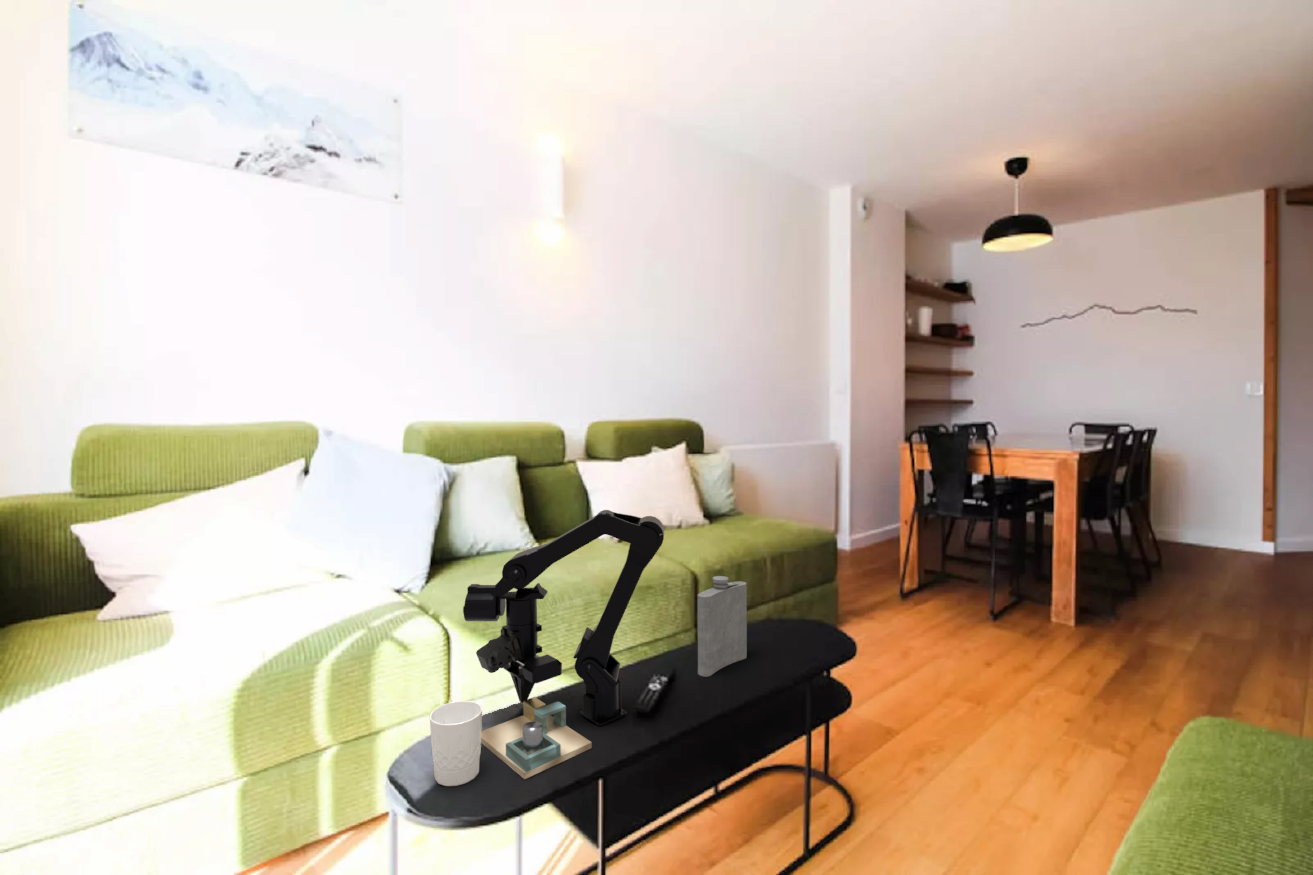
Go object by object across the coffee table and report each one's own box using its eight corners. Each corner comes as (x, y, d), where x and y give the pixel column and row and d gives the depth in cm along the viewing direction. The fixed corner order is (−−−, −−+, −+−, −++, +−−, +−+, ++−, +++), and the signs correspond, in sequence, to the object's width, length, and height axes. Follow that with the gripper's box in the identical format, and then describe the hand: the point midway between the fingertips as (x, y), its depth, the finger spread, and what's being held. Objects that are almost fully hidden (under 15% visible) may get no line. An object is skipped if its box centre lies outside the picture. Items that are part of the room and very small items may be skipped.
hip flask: (706, 678, 130) (705, 586, 129) (691, 672, 133) (691, 582, 132) (749, 656, 141) (749, 572, 141) (735, 652, 144) (735, 569, 144)
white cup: (488, 759, 100) (487, 699, 99) (475, 788, 92) (474, 724, 91) (440, 760, 99) (439, 700, 99) (423, 790, 91) (422, 725, 91)
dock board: (540, 713, 115) (539, 690, 115) (591, 748, 103) (591, 721, 103) (476, 738, 106) (475, 713, 106) (524, 779, 94) (524, 750, 94)
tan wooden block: (534, 711, 114) (534, 696, 114) (546, 718, 111) (545, 704, 111) (523, 715, 112) (523, 701, 112) (534, 723, 109) (534, 708, 109)
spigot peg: (536, 748, 101) (535, 719, 101) (546, 756, 98) (546, 726, 98) (519, 756, 99) (518, 726, 98) (529, 764, 96) (529, 733, 96)
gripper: (459, 618, 115) (461, 698, 116) (507, 645, 102) (509, 736, 102) (511, 606, 123) (513, 681, 123) (563, 629, 109) (564, 713, 110)
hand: (523, 701), depth 114 cm, fingers closed
